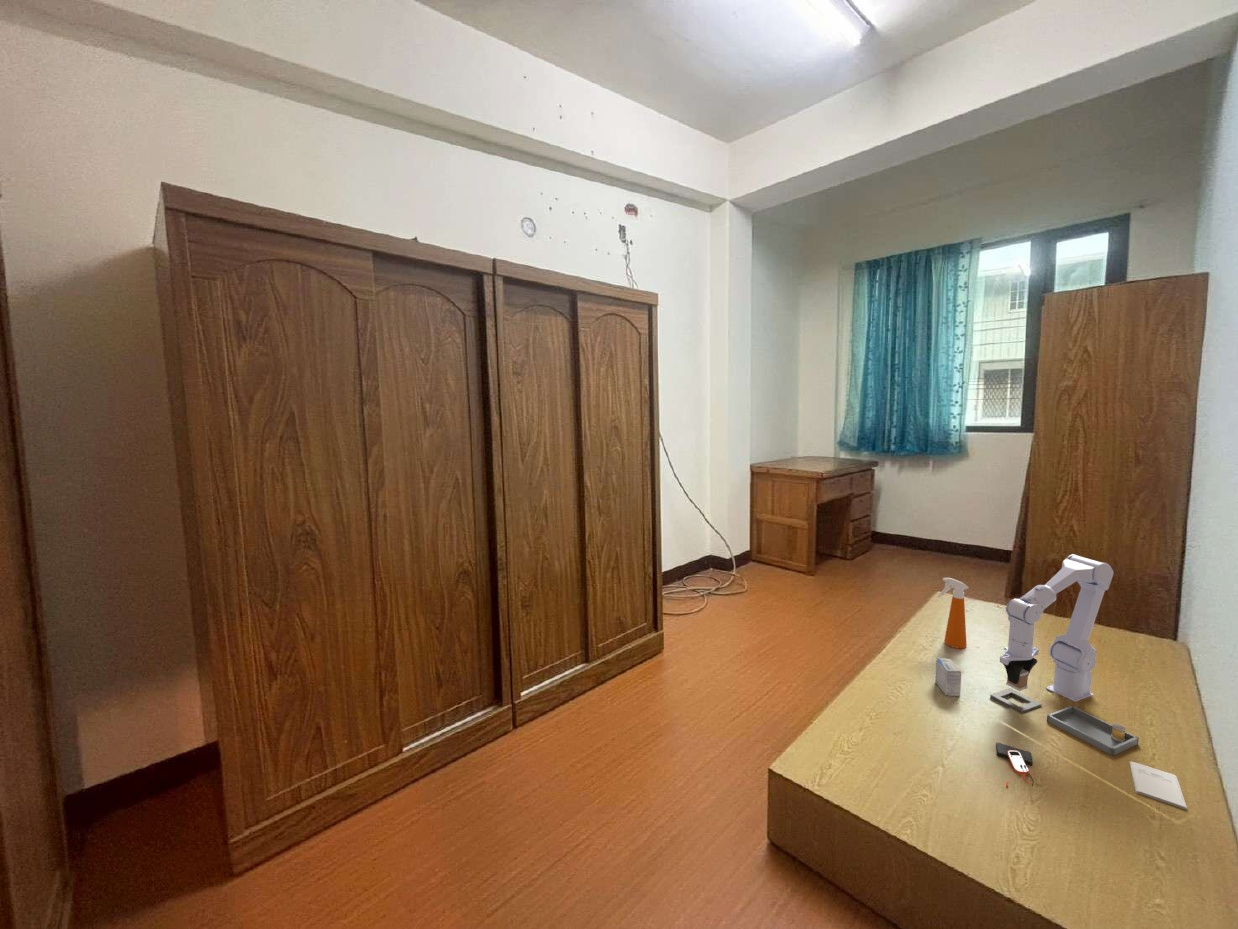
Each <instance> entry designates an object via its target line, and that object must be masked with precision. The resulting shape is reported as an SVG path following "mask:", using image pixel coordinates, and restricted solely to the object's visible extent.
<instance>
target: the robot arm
mask: <svg viewBox="0 0 1238 929" xmlns="http://www.w3.org/2000/svg"><path fill="white" fill-rule="evenodd" d="M1113 576H1114V570H1113V568H1112V566H1111V565H1110V564H1109V563H1107V562H1102V561H1098V560H1094V559H1090V558H1087V557H1084V556H1081V555H1078V554H1075V553H1072V554H1070V555H1068V556H1067V557H1066V558H1065V559H1064V560H1063V561H1062V563H1061V569H1060V570H1058V572H1056V574H1055V575H1053V576H1052V577H1051V578H1050V580H1048V581H1047V582H1046V583H1045V584H1037V585H1035V586H1034V587H1033V588H1032V589H1030V590H1029V591H1028V592H1027V593H1025V594H1024V595H1022V596H1021V597H1020V598H1013V599H1011V600H1009V601H1008V602H1007V604H1006V606H1005V612H1006V614H1007V618H1008V621H1009V631H1008V642H1007V644H1008V645H1007V646H1004V647H1003V650H1005V652H1004V653H1002V655H1000V656H999V662H1000V663H1001V664H1003V667H1004V668H1005V671H1006V675H1007V676H1008V680H1009V681H1010V682H1012V683H1014V684H1017V683H1018V680H1019V675H1020V672H1021V670H1022V669H1024V670H1026V671H1029V674H1028V676H1029V675H1030V673H1031V671H1032V669H1033V668H1034V666H1035V665H1036V664H1037V663H1038V659H1036V658H1034V657H1035V656H1038V655H1039V652H1040V650H1039V648H1037V647H1035V646H1033V645H1034V632H1035V623H1037V622H1039V621H1040V620H1041V616H1042V614H1044V610H1045V609H1046V608H1048V607H1049V606H1050V605H1052V604H1053V603H1054V602H1055V601H1056V600H1057V594H1059V593H1060V592H1062V591H1063V590H1065V589H1066V588H1068V587H1069V586H1071V585H1073V584H1074V583H1076V582H1077V583H1078V585H1079V586H1080V591H1079V593H1078V596H1077V599H1076V602H1075V606H1074V607H1073V608H1074V609H1073V612H1072V614H1071V616H1070V617H1071V618H1070V621H1069V623H1068V627H1067V629H1066V633H1063V634H1059V635H1056V636H1055V638H1054V640H1053V642H1052V643H1051V644H1050V645H1049V649H1048V654H1049V656H1050V657H1051V659H1053V660H1052V662H1053V663H1055V666H1054V675H1053V676H1054V677H1053V683H1052V685H1049V686H1047V687H1045V688H1046V690H1048V691H1049V692H1052V693H1056V694H1058V695H1060V696H1062V697H1064V698H1066V699H1068V700H1070V701H1073V702H1074V703H1075V702H1079V701H1080V700H1084V699H1086V698H1089V697H1091V696H1094V695H1095V694H1094V693H1092V692H1091V687H1092V678H1093V675H1092V673H1091V671H1093V669H1094V668H1095V666H1096V662H1097V661H1096V656H1097V650H1096V649H1095V648H1094V646H1093V645H1092V644H1091V642H1090V641H1089V640H1090V636H1091V633H1092V630H1093V628H1094V625H1095V621H1096V619H1097V616H1098V613H1099V610H1100V606H1101V603H1102V601H1103V597H1104V594H1105V592H1106V591H1108V590H1109V588H1110V585H1111V583H1112V579H1113Z"/></svg>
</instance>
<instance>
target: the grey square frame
mask: <svg viewBox="0 0 1238 929" xmlns="http://www.w3.org/2000/svg"><path fill="white" fill-rule="evenodd" d="M1010 697H1013V698H1015V699H1017V700H1019V701H1021V702H1023V703H1025V704H1023V705H1017V704H1015V703H1014V702H1012V701H1009V700H1008V699H1006V698H1010ZM989 698H990V699H991V700H993V701H995V702H997V704H998V703H999V704H1000V705H1003V706H1004V707H1006V708H1008V709H1012V710H1014V711H1016V712H1018V713H1019V714H1025V713H1027V712H1030V711H1032V710H1035V709H1038V708H1041V707H1042V705H1043V704H1042V703H1040V702H1039V701H1036V700H1035V699H1032V698H1031V697H1029V696H1026V695H1024V694H1022V693H1020V691H1018V690H1016V689H1014V688H1012V687H1008V688H1006V689H1002V690H1000V691H998V692H994V693H991V694H990V696H989Z"/></svg>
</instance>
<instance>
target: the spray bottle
mask: <svg viewBox="0 0 1238 929" xmlns="http://www.w3.org/2000/svg"><path fill="white" fill-rule="evenodd" d="M942 581H943V582H945V583H944V587H943V589H942V591H940V592H939V594H938V595H937V596H936V597H937V598H940V597H942V596H944V595H945V594H946V593H948V591H950V590H952V589H953V591H952V597H951V601H950V602H951V603H950V609H949V613H948V618H947V619H948V620H947V624H946V630H945V634H944V640H943V641H944V644H946V645H947V646H949V647H950V648H951V647H952V648H953V649H954V648H955V649H965V648H967V646H968V645H967V630H966V628H967V627H966V626H967V625H966V608H965V592H964V590H967V589H970V587H969V586H968V585H967V584H965V583H964V582H962V581H959V580H957V579H954V578H951V577H942Z"/></svg>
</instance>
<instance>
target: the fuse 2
mask: <svg viewBox="0 0 1238 929" xmlns="http://www.w3.org/2000/svg"><path fill="white" fill-rule="evenodd" d="M1111 725H1112V734H1111V739H1113V740H1114V741H1116V742H1119V743H1122V742H1124V740H1125V739H1124V736H1125V731H1126V730H1127V728H1126V726H1124V725H1123V724H1121V723H1117V722H1113V723H1112V724H1111ZM1126 732H1127V731H1126Z"/></svg>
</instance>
